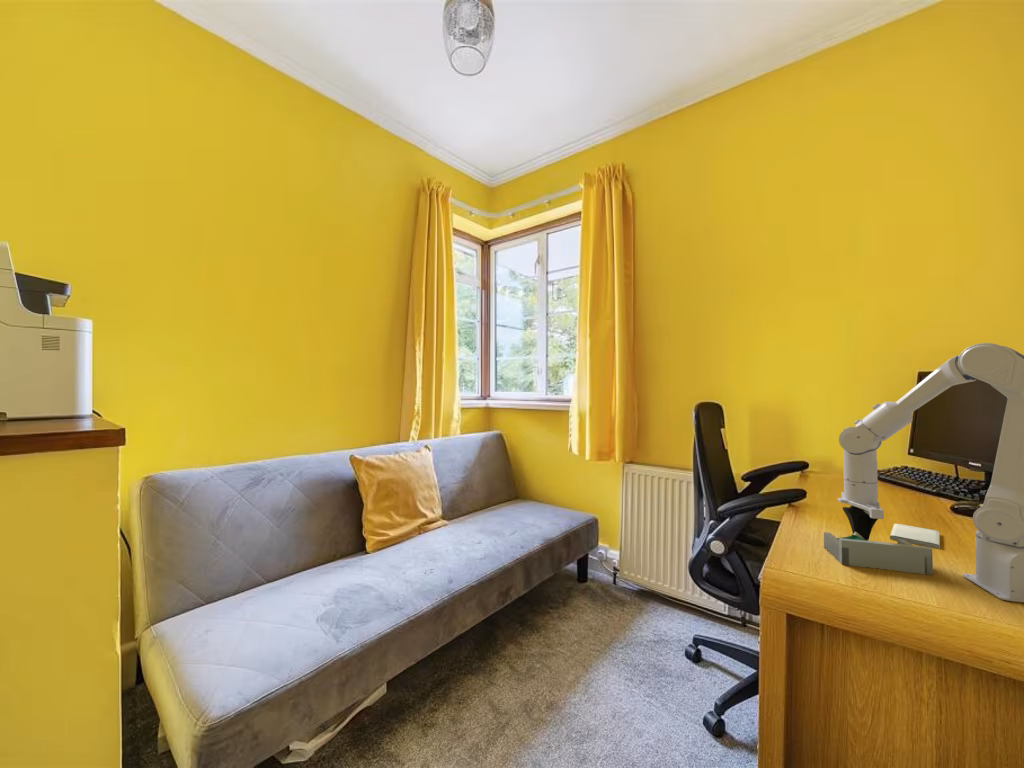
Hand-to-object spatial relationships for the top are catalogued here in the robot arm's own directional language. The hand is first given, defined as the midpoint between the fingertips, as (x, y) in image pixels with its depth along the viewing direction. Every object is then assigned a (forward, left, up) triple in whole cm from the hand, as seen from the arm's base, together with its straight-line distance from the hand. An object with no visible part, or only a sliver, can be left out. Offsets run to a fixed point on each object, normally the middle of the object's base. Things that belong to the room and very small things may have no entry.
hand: (861, 541), depth 89 cm
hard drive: (+14, -16, -3) cm, 21 cm away
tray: (-6, 0, -2) cm, 6 cm away
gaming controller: (-4, +3, -2) cm, 6 cm away
